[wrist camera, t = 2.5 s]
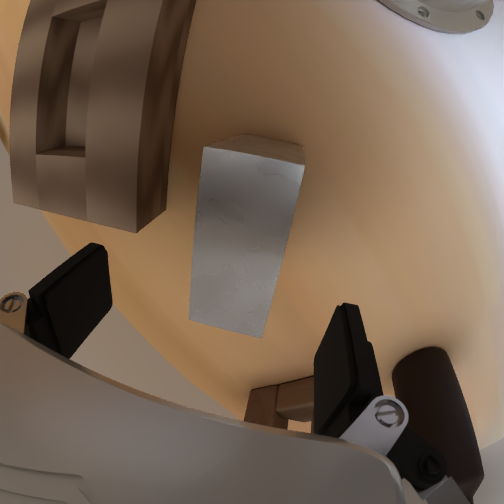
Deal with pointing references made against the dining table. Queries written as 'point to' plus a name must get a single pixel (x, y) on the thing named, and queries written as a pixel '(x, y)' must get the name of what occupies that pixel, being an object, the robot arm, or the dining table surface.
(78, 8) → the post base
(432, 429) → the bottle
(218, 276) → the grey bar
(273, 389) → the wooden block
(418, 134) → the dining table surface
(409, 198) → the dining table surface
